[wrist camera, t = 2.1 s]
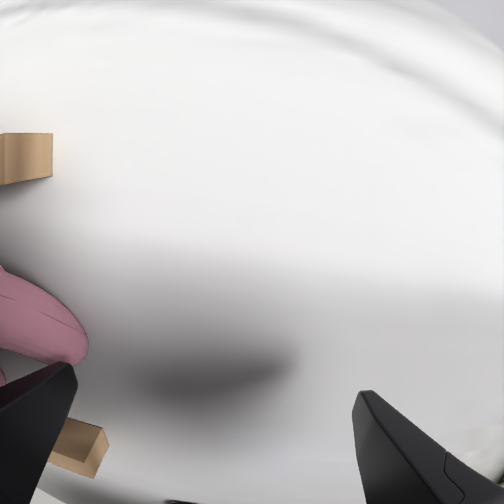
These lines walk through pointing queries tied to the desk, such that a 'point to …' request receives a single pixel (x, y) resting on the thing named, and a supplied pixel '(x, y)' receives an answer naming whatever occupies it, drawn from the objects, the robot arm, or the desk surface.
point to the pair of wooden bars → (73, 432)
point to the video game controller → (38, 324)
